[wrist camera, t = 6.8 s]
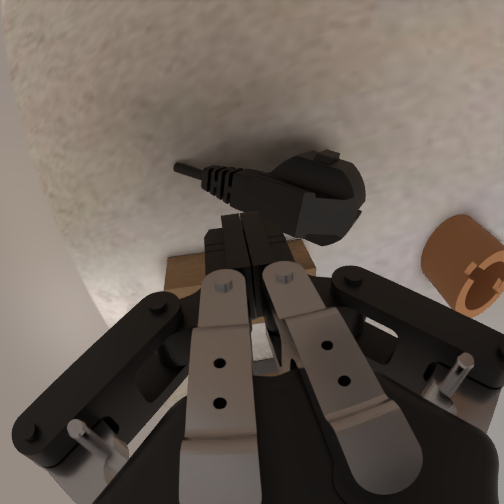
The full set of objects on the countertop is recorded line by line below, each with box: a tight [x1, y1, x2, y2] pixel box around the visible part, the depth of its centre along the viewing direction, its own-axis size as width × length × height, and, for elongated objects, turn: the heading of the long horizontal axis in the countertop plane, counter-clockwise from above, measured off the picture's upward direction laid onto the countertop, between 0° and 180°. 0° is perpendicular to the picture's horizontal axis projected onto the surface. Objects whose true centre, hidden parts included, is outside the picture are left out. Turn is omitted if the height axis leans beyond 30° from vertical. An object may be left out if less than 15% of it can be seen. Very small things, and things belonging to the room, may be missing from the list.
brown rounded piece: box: [421, 215, 504, 318], centre depth 28 cm, size 18×8×7 cm, turn 66°
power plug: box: [173, 150, 366, 246], centre depth 21 cm, size 6×8×12 cm
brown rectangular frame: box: [164, 239, 316, 376], centre depth 28 cm, size 16×11×5 cm, turn 4°
